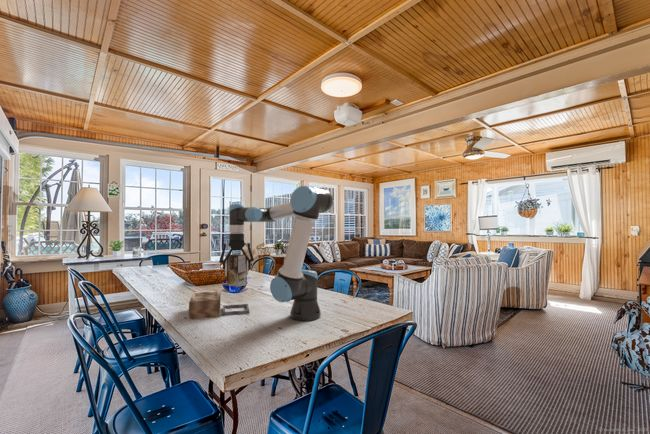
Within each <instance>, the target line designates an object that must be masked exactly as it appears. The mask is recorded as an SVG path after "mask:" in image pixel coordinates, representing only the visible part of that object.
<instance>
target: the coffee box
mask: <svg viewBox="0 0 650 434" xmlns="http://www.w3.org/2000/svg"><path fill="white" fill-rule="evenodd" d="M247 256H248V254H246V255H244V254H237V253H236V254H230V256H229V257H228V259H227V261H226V263H227V276H226V286H230V287H238V288H239V287H242V286H244V287H245V286H247V285H248V278H247V277H248V275H247V262H248V261H247Z"/></svg>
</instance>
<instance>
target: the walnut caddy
mask: <svg viewBox="0 0 650 434" xmlns="http://www.w3.org/2000/svg"><path fill="white" fill-rule="evenodd" d="M239 307H240V308H246V309H245V310H230V311H226V309H236V308H237V309H239ZM225 308H226V309H225ZM235 314H236V315H245V314H246V315H247V314H250V307H249V304H248V303H239V304H226V305H223V306H222V316H234V315H235ZM220 315H221V292H220V290H215V291H213V290H212V291H210V290H209V291H193V293H192V295H191V297H190V300H189V302H188V320H195V319H196V320H197V319H207V318H209V319H210V318H211V317H212V318H219V317H220ZM212 318H211V319H212Z"/></svg>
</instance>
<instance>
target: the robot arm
mask: <svg viewBox="0 0 650 434" xmlns="http://www.w3.org/2000/svg"><path fill="white" fill-rule="evenodd" d="M332 195H333V194H331V192H330V191H329V190H328V189H325V188H321V187H315V186H312V185H300V186H298V187H297V188H295V189H294V190H293V192H292V194H291V195H290V200H289V201H290V202H286V203H282V204H278V205H274V206H270V207H257V206H249V207H245V205H244V204H243V203H242V204H241V203H233V204H230V205H229V211H228V213H229V231H228V232H229V236H228V237H229V239H228V240H229V241H228V243H223V245H222V246H223V249H222V252H221V255H220V257H219V261H218V262H219V263H222V270H224V275H225V277H227V259H228V257H229V256H230V255H232V253H233V251H234V252H235V251H238V252H239V251H241V253H242V255H247V253H246V252H245V250H244V249H243V248H244V247H246V248H247V250H248V255H249V256H248V255H247V276H248V275H249V269H250V268H251V263H252V262H253V261H255V259H254V256H253V252H252V250H251V249H252V248H251V243H250V242H245V234H244V233H245V223H247V222H248V223H274V222H277V221H279V220H284V219H288V218H291V217H292V218H293V217H294V220H293V225H292V228H291V232H290V236H289V241H288V245H287V249H286V253H285V257H284V261H283V266H282V267H280V268H278V272H277V276H275V277H274V278H272V279H271V281H270V282H269V283H270V285H269V290H270V293H271V295H272V298H273V299H274V300H275V301H277V302H279V303H286V302H287V303H288V302H291V301H293V303H292V306H291V308H290V312H289V313H290V314H289V315H290V316H289V317H290V318H291V319H292V320H295V321H303V322H304V321H305V322H306V321H315V320H317V319H320V318H321V316H322V315H321V308H320V305H319V303H318V272H317V271H315V270H309V269H303V266H304V260H305V257H306V254H307V251H308V246H309V241H310V237H311V233H312V230H313V225H314V223H315V221H317V220H318V219H319V216H320V214H324V213H327V212H328V211H329V210H331V208H332V206H333V204H334V203H333V202H334V198H333V196H332ZM228 247H229V248H230V249H229V251H228V253H227V254H226V256H225V257H224V255H225V252H226V249H227V248H228ZM223 258H224V259H223Z"/></svg>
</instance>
